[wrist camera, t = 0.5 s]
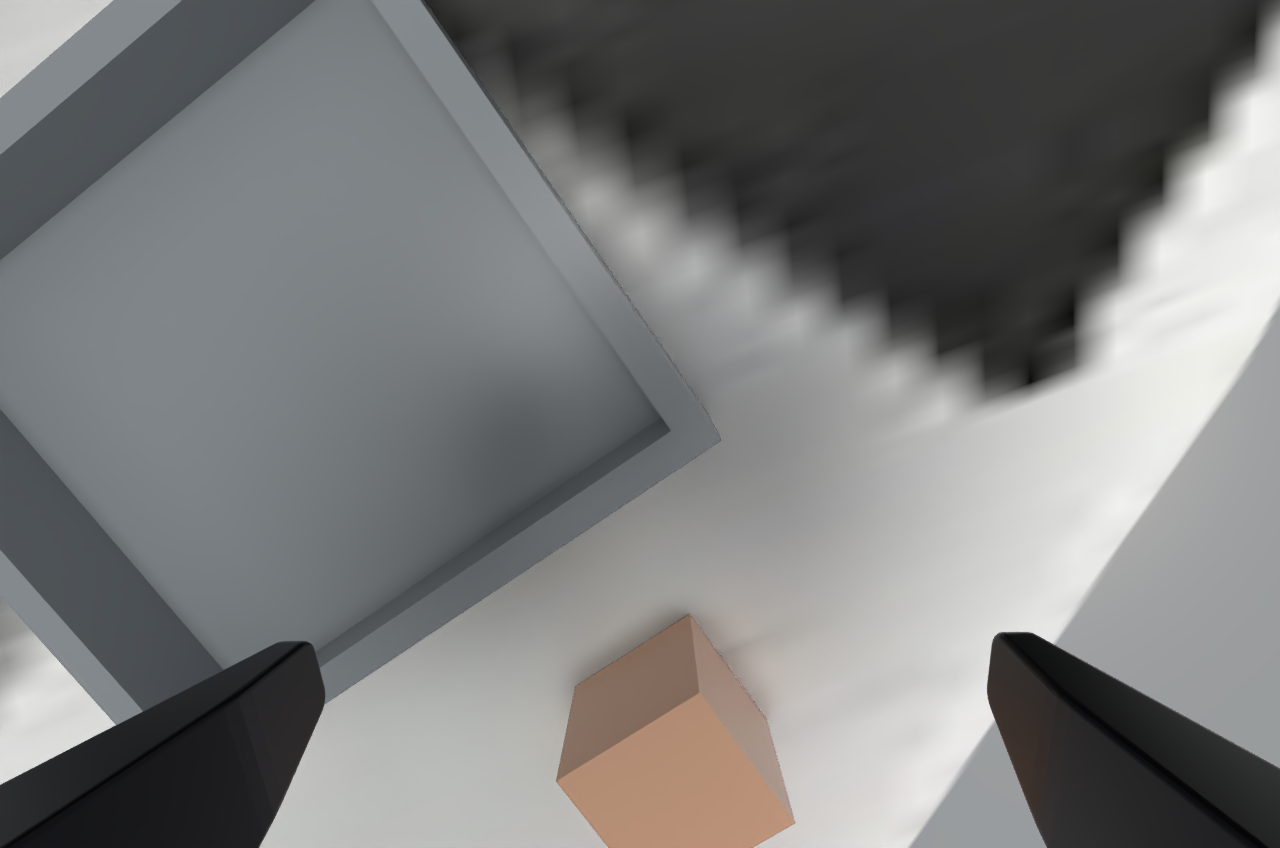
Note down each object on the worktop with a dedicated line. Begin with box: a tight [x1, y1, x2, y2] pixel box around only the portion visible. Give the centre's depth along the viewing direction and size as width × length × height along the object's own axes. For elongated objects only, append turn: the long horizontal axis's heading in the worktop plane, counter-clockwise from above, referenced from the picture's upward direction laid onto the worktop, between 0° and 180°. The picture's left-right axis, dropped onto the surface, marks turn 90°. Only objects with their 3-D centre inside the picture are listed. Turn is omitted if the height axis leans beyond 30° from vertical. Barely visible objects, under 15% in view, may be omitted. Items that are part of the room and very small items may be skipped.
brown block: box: [556, 614, 795, 848], centre depth 22 cm, size 5×5×5 cm
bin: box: [0, 0, 721, 725], centre depth 20 cm, size 20×18×4 cm
